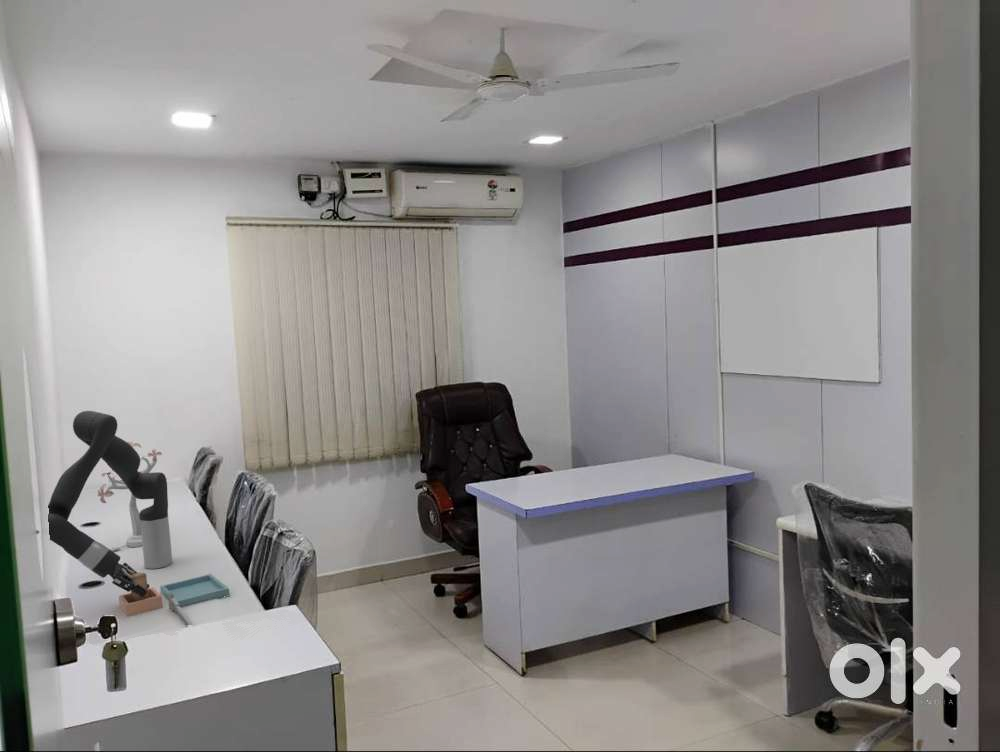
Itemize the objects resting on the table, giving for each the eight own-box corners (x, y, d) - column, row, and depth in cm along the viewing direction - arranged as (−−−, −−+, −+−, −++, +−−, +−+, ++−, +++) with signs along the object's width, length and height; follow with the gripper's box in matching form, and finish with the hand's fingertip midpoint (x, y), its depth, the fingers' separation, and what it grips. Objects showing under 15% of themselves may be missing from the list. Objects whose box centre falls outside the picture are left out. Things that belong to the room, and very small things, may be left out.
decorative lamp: (114, 560, 295) (103, 452, 291) (83, 550, 309) (72, 447, 305) (184, 539, 317) (174, 439, 313) (151, 531, 331) (142, 434, 327)
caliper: (169, 611, 245) (167, 591, 244) (172, 610, 245) (170, 590, 245) (191, 631, 229) (189, 610, 228) (195, 630, 229) (193, 609, 229)
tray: (160, 593, 259) (160, 586, 259) (211, 581, 269) (210, 573, 268) (176, 609, 245) (175, 601, 245) (229, 595, 254) (228, 588, 254)
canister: (131, 606, 248) (128, 575, 247) (147, 602, 251) (144, 571, 249) (134, 611, 244) (131, 579, 243) (150, 607, 247) (147, 575, 246)
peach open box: (119, 608, 248) (118, 595, 248) (154, 599, 254) (153, 587, 254) (127, 618, 240) (126, 605, 240) (162, 608, 246) (161, 596, 246)
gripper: (103, 556, 236) (152, 589, 241) (111, 542, 250) (157, 574, 255) (85, 576, 235) (134, 609, 240) (94, 561, 249) (141, 593, 254)
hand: (146, 591), depth 247 cm, fingers closed on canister, 4 cm apart
